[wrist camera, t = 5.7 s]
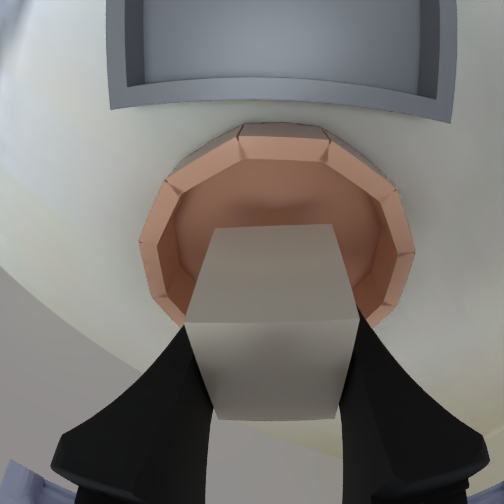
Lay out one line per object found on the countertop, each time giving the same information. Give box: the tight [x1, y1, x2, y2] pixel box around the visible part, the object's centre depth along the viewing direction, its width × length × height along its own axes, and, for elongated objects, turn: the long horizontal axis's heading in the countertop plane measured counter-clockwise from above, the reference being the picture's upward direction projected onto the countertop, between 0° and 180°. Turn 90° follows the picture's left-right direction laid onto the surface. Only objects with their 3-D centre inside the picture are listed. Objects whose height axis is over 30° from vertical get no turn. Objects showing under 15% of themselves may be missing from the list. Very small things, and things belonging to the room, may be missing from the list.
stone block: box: [184, 224, 360, 421], centre depth 10 cm, size 4×5×4 cm
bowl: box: [139, 122, 415, 329], centre depth 14 cm, size 12×12×3 cm
